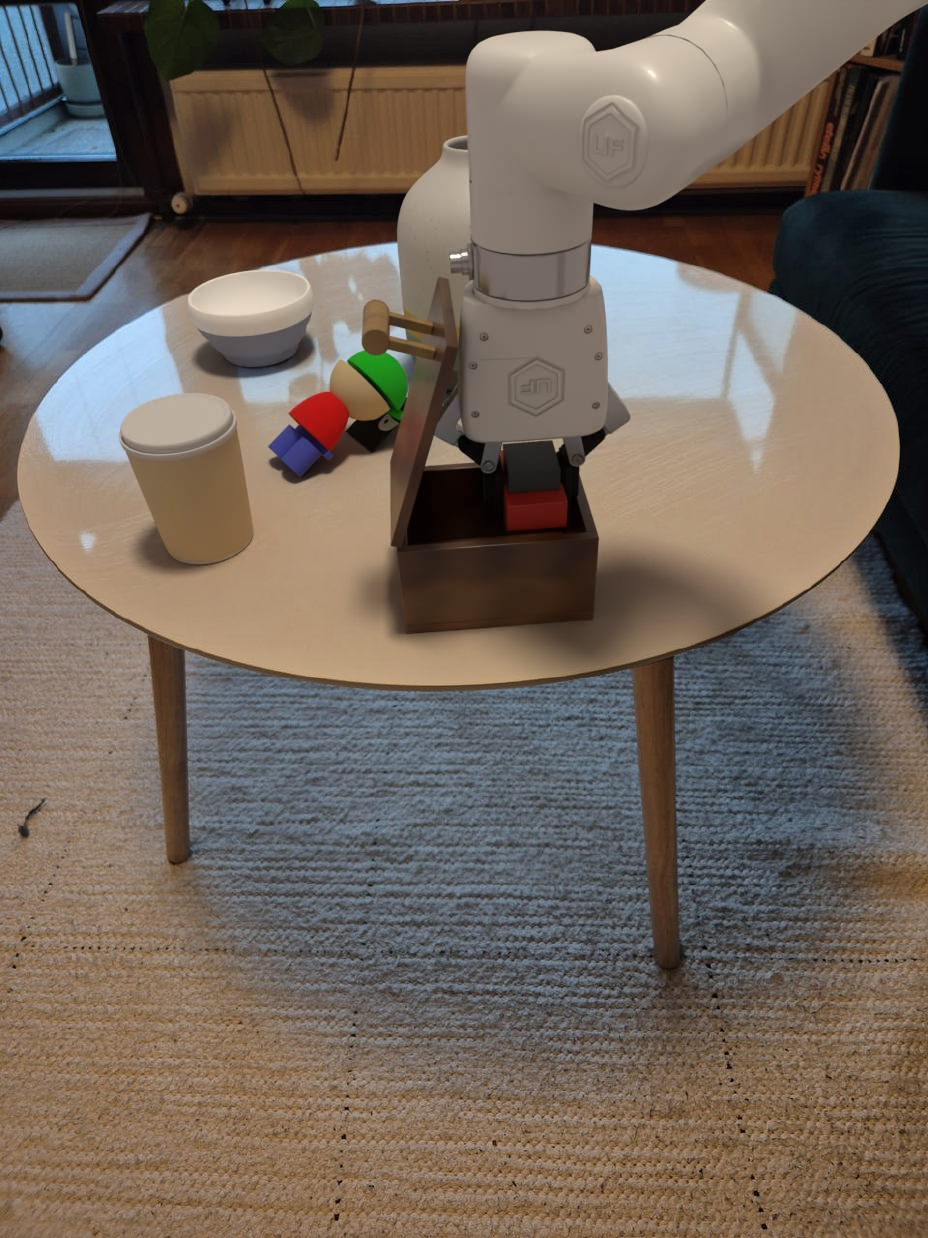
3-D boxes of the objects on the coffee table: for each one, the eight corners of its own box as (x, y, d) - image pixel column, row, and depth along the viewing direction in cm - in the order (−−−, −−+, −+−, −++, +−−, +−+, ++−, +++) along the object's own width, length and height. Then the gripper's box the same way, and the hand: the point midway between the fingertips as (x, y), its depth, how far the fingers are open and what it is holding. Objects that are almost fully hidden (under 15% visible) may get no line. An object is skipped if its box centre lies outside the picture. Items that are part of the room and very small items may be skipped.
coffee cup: (218, 498, 84) (187, 380, 76) (284, 532, 80) (258, 410, 72) (135, 545, 79) (92, 424, 71) (200, 584, 74) (162, 459, 66)
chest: (570, 532, 78) (573, 454, 73) (593, 619, 69) (599, 537, 64) (403, 545, 77) (395, 467, 72) (406, 633, 69) (396, 552, 63)
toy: (334, 509, 88) (437, 400, 88) (285, 463, 82) (396, 346, 82) (296, 473, 94) (393, 370, 94) (248, 427, 88) (352, 318, 88)
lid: (449, 278, 63) (371, 258, 61) (459, 348, 54) (368, 325, 53) (399, 463, 72) (331, 449, 71) (401, 548, 63) (323, 533, 62)
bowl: (218, 330, 115) (204, 270, 110) (329, 327, 114) (320, 267, 109) (187, 381, 104) (170, 318, 99) (310, 378, 103) (299, 314, 98)
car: (567, 534, 66) (569, 480, 63) (505, 539, 66) (504, 485, 62) (552, 477, 72) (553, 425, 69) (495, 481, 72) (494, 429, 69)
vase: (516, 332, 110) (516, 113, 94) (583, 387, 98) (595, 148, 82) (388, 360, 106) (365, 136, 90) (442, 422, 94) (426, 175, 78)
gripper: (399, 296, 54) (423, 542, 65) (677, 276, 54) (649, 525, 66) (398, 254, 59) (420, 487, 71) (649, 236, 60) (628, 472, 71)
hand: (530, 503), depth 68 cm, fingers closed on car, 4 cm apart
